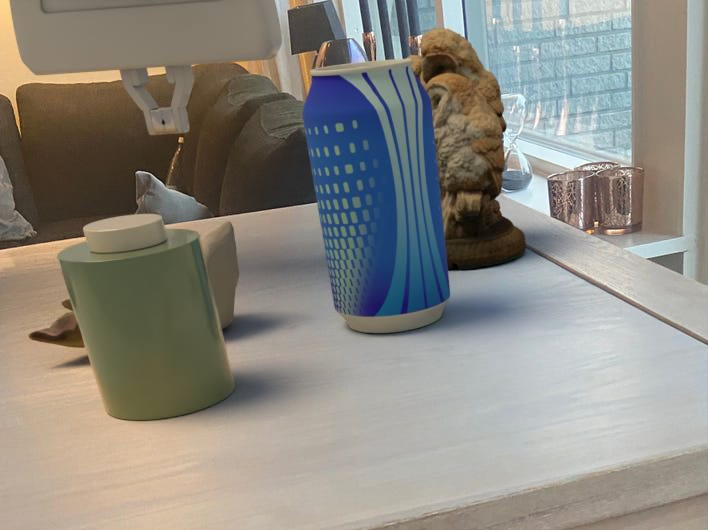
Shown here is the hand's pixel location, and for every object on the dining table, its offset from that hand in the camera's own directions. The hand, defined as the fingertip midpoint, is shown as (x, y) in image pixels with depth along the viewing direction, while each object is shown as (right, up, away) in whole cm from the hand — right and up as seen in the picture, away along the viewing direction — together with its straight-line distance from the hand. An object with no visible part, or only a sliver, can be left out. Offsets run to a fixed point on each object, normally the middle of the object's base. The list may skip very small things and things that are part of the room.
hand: (170, 133), depth 77 cm
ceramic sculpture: (+1, -19, -6) cm, 19 cm away
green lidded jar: (+6, -26, -18) cm, 32 cm away
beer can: (+19, -18, -8) cm, 27 cm away
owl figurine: (+23, -5, +10) cm, 25 cm away
